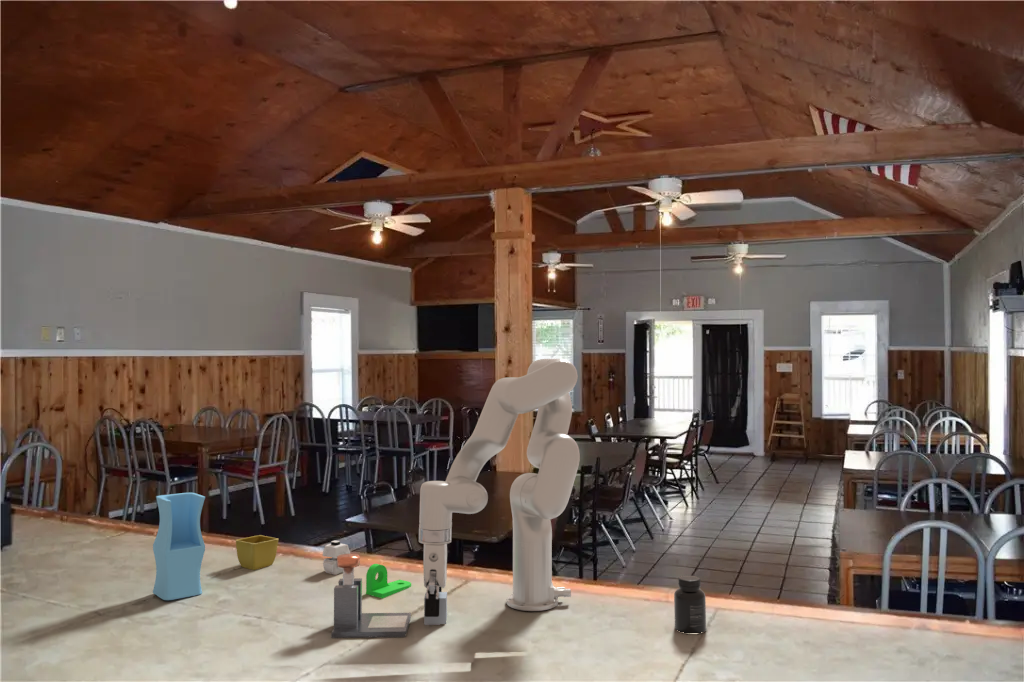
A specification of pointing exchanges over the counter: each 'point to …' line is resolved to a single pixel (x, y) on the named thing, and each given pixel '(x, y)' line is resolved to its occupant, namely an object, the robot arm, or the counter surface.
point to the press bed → (363, 616)
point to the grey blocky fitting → (334, 556)
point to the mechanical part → (382, 582)
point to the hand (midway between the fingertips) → (433, 609)
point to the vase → (178, 546)
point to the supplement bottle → (690, 605)
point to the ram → (348, 566)
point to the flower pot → (256, 551)
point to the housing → (442, 611)
